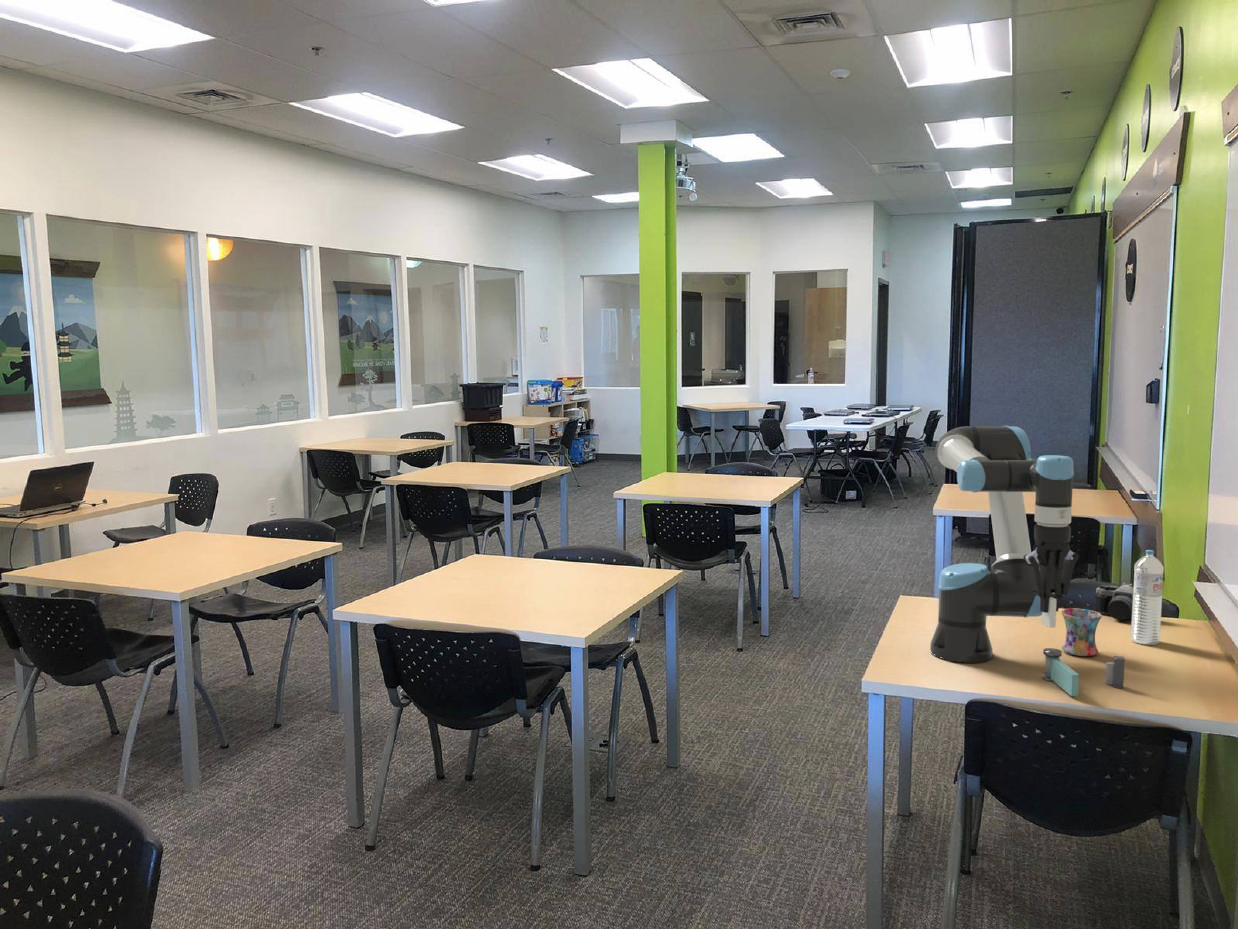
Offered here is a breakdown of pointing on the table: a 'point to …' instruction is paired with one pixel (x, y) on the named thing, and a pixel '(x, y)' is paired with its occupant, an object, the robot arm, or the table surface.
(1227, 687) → the table surface
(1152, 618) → the water bottle
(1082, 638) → the mug
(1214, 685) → the table surface
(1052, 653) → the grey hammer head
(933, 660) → the table surface
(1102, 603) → the camera
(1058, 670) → the teal rectangular bar
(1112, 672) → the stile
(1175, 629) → the table surface
